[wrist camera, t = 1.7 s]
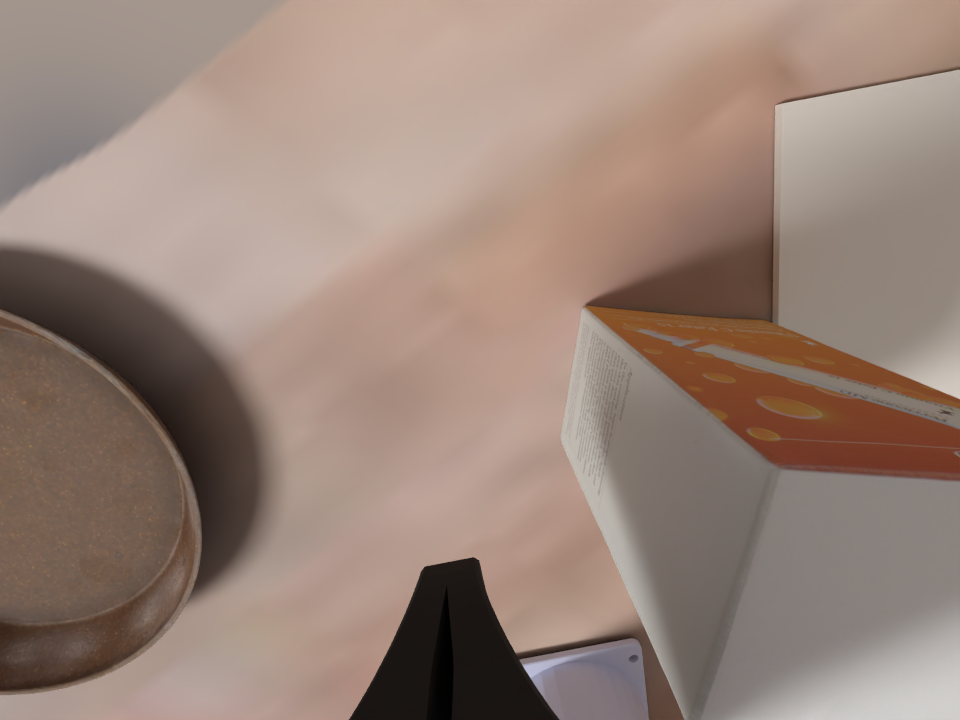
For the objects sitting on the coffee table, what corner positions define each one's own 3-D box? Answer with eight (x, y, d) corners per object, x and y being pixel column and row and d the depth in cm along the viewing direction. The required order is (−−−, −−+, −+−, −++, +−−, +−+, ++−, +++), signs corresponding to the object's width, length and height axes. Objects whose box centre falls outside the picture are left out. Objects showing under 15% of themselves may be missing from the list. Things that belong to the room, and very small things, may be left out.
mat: (1026, 496, 25) (1035, 501, 24) (769, 545, 25) (774, 551, 24) (1122, 38, 18) (1137, 35, 18) (775, 105, 18) (781, 103, 18)
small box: (765, 316, 21) (1218, 493, 9) (727, 451, 23) (1052, 750, 11) (577, 300, 20) (779, 467, 8) (555, 440, 22) (688, 748, 10)
